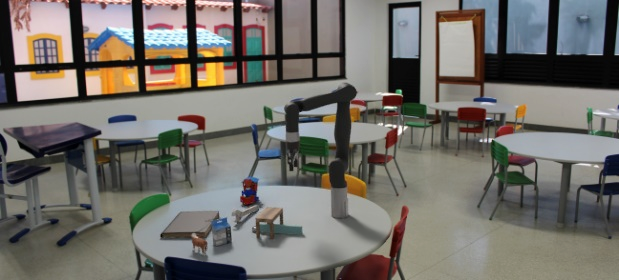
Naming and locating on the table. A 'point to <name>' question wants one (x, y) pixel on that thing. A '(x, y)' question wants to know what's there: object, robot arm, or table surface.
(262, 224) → the long teal stick
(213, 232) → the label tape box
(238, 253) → the table surface
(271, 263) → the table surface
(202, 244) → the bull figurine
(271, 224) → the bench
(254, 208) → the wrench
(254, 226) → the puck
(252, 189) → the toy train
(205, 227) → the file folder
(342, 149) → the robot arm
